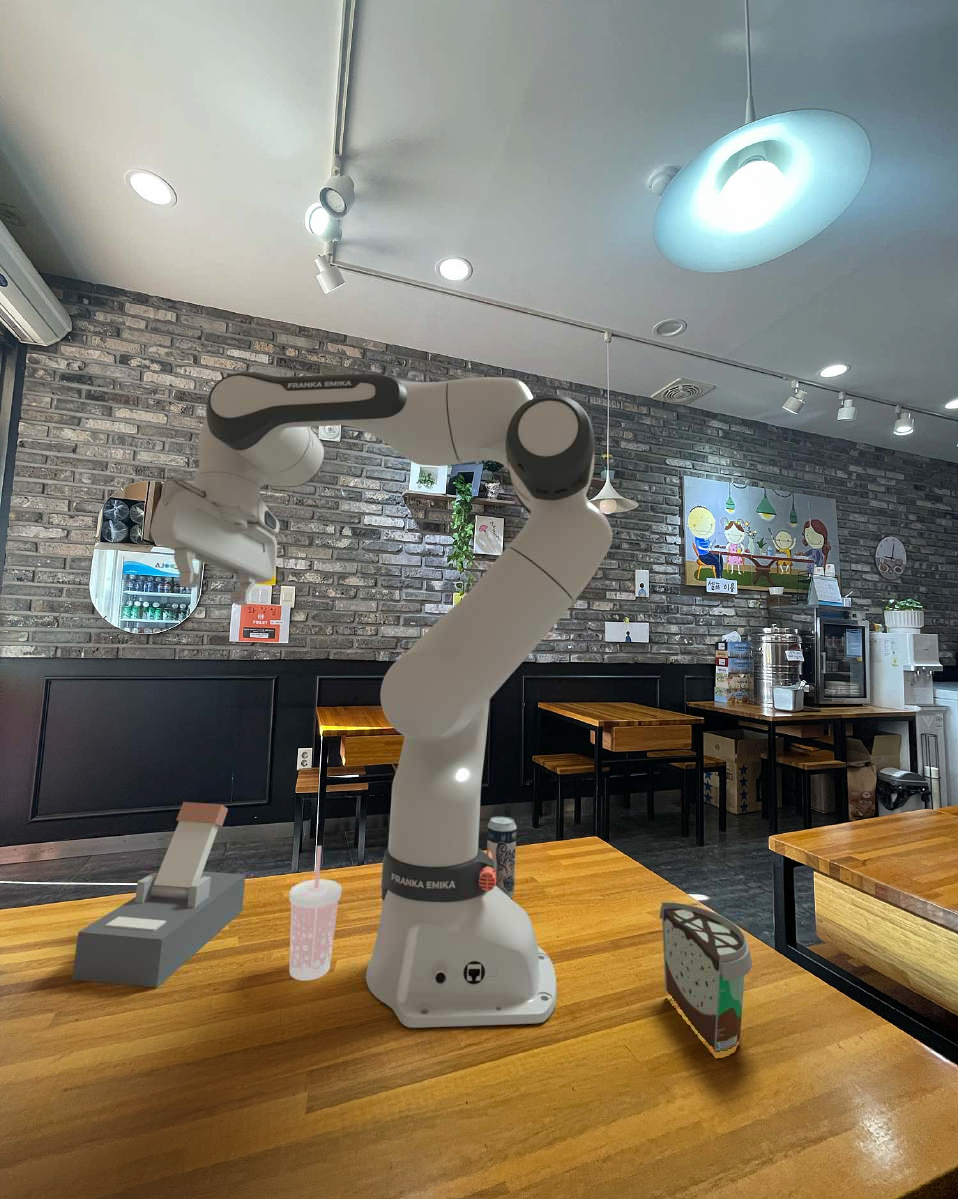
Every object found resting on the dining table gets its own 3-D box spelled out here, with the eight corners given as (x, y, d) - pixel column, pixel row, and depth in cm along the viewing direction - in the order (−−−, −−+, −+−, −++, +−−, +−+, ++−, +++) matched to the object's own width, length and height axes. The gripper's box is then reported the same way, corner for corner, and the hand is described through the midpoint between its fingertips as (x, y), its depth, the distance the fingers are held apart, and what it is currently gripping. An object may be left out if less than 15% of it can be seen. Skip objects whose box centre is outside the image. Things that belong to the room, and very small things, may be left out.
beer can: (503, 908, 80) (506, 826, 81) (478, 898, 83) (481, 820, 84) (519, 897, 84) (522, 820, 85) (495, 888, 86) (498, 814, 88)
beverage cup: (335, 951, 66) (343, 836, 67) (337, 980, 60) (346, 853, 62) (283, 958, 64) (294, 839, 66) (281, 988, 58) (292, 857, 60)
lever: (195, 900, 67) (228, 809, 74) (187, 898, 66) (221, 804, 73) (155, 897, 68) (191, 806, 75) (145, 894, 66) (183, 802, 73)
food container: (783, 1066, 50) (780, 955, 51) (725, 1071, 49) (723, 958, 50) (706, 987, 62) (706, 898, 63) (659, 990, 61) (659, 900, 62)
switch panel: (242, 911, 75) (247, 856, 76) (156, 988, 57) (164, 915, 58) (176, 905, 76) (182, 851, 77) (72, 979, 58) (81, 908, 59)
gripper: (186, 466, 65) (171, 570, 62) (286, 528, 84) (279, 610, 81) (146, 474, 67) (129, 576, 63) (253, 532, 86) (245, 613, 82)
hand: (214, 595), depth 72 cm, fingers open, 8 cm apart
